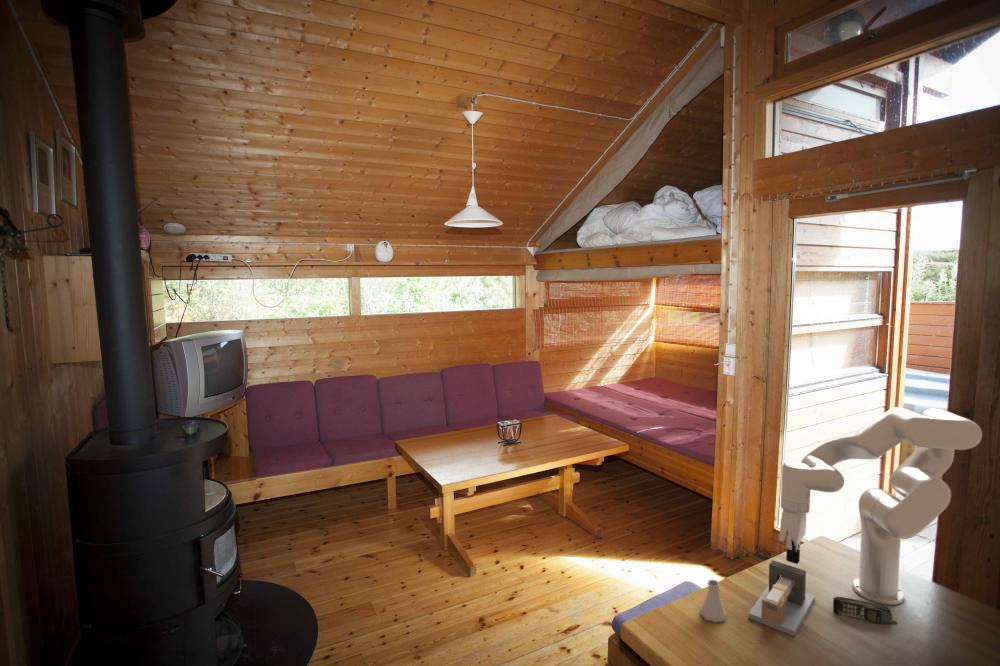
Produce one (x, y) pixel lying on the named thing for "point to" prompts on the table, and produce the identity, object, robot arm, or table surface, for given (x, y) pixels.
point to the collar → (792, 573)
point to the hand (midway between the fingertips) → (792, 561)
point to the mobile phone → (862, 610)
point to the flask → (713, 604)
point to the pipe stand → (781, 607)
